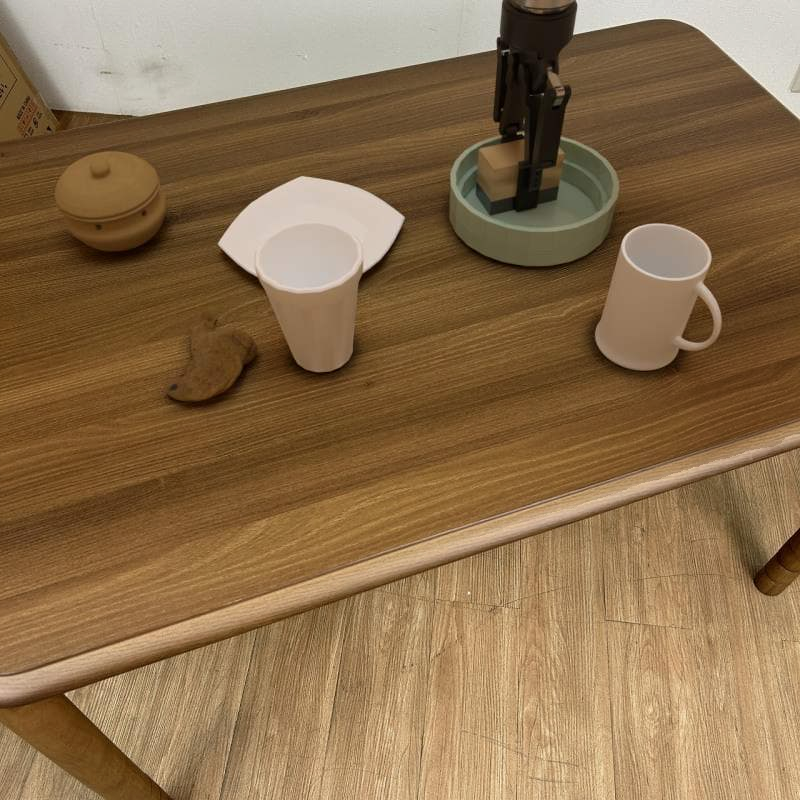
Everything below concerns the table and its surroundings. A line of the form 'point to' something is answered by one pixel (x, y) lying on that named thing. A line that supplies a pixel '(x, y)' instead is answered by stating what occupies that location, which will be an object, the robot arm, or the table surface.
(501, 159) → the block
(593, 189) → the bowl
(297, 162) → the table surface
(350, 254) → the cup
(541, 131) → the robot arm
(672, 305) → the mug
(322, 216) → the plate
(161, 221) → the pot
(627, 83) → the table surface
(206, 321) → the ginger root
